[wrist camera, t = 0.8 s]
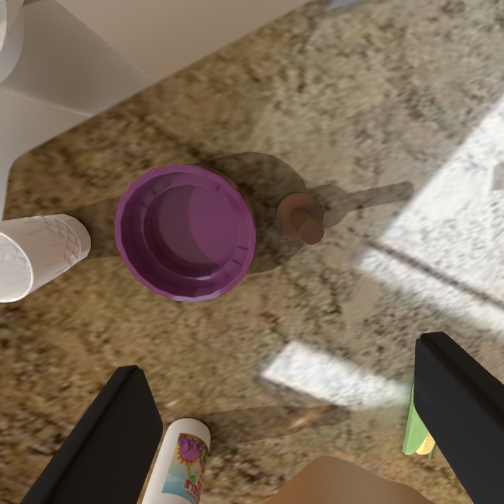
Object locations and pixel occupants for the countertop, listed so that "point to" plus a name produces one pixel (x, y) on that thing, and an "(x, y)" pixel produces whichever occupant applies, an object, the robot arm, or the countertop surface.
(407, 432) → the edible corn
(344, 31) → the countertop surface
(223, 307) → the countertop surface
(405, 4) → the countertop surface
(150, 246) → the bowl
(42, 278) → the white cup
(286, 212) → the dish brush
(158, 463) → the milk bottle
